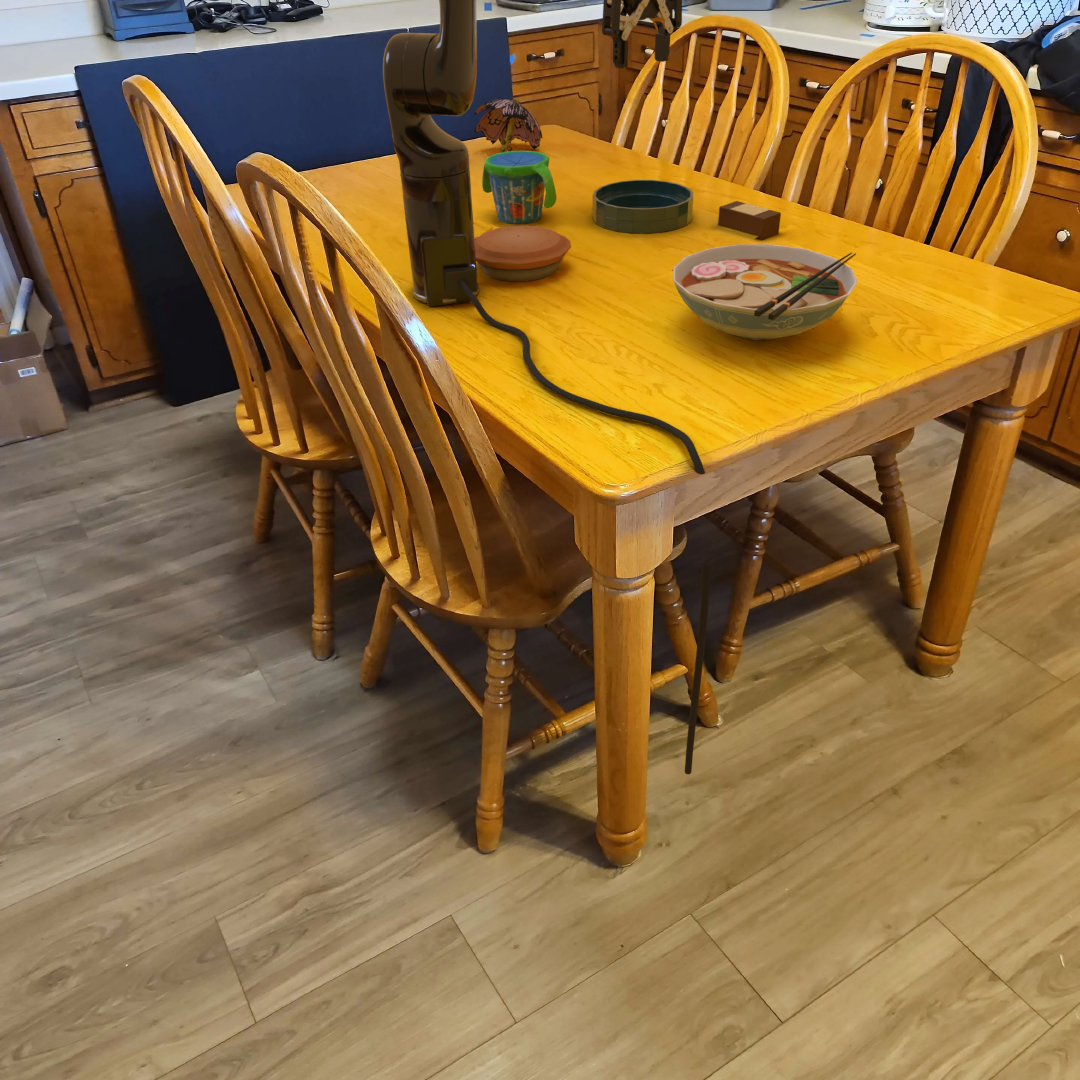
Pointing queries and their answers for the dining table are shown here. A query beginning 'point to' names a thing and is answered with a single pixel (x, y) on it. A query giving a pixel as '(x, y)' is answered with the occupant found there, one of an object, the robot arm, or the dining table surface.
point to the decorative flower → (508, 123)
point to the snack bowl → (642, 206)
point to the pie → (520, 252)
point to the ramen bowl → (763, 288)
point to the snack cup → (519, 185)
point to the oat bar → (750, 219)
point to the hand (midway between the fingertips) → (641, 64)
